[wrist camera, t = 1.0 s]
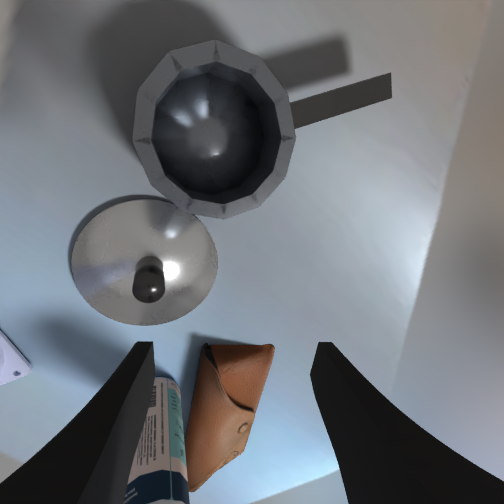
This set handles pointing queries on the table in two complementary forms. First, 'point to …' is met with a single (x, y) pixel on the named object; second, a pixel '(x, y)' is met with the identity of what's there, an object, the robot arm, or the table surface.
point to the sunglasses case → (223, 406)
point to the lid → (144, 262)
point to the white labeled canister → (160, 451)
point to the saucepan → (227, 126)
